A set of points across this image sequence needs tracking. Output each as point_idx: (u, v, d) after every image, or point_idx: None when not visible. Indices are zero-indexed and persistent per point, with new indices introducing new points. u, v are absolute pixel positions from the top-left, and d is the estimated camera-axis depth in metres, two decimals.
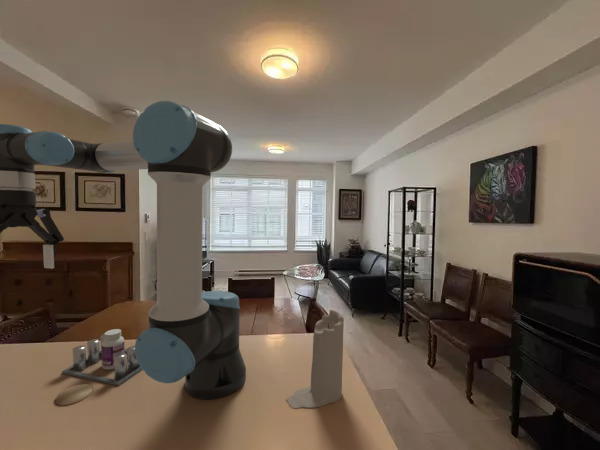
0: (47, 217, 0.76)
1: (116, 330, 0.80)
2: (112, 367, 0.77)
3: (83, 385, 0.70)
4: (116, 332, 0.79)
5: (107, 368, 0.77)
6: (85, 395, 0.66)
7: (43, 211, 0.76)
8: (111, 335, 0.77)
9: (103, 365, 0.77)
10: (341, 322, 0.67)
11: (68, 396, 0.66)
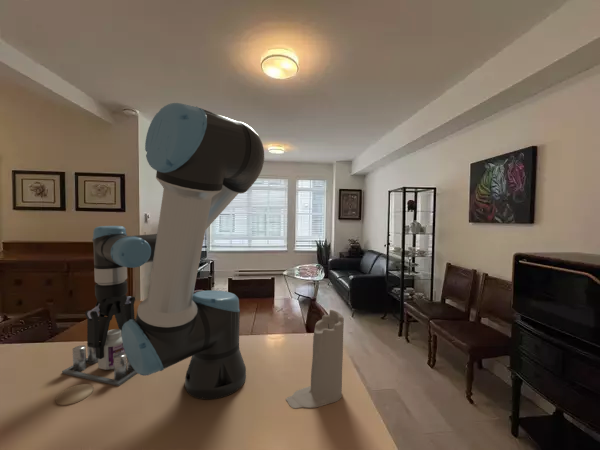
0: (131, 304, 0.83)
1: (116, 330, 0.80)
2: (112, 367, 0.77)
3: (83, 385, 0.70)
4: (116, 332, 0.79)
5: None
6: (85, 395, 0.66)
7: (130, 298, 0.84)
8: (111, 335, 0.77)
9: None
10: (341, 322, 0.67)
11: (68, 396, 0.66)
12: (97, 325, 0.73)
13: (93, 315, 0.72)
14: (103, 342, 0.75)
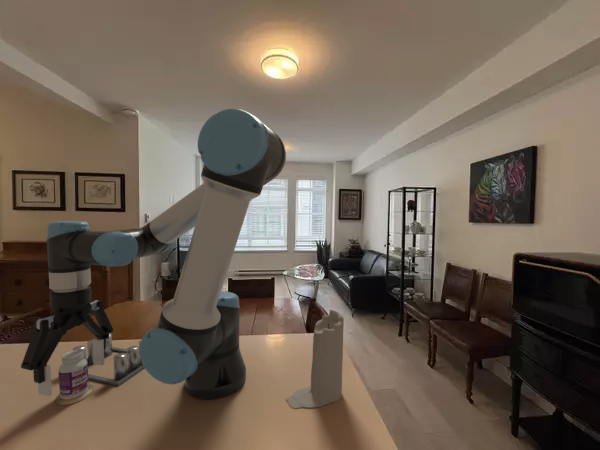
0: (100, 310, 0.71)
1: (77, 351, 0.67)
2: (72, 396, 0.65)
3: None
4: (76, 354, 0.66)
5: (65, 398, 0.64)
6: (85, 395, 0.66)
7: (97, 304, 0.71)
8: (70, 358, 0.65)
9: (61, 394, 0.65)
10: (341, 322, 0.67)
11: None
12: (43, 339, 0.59)
13: (43, 324, 0.59)
14: (44, 362, 0.59)
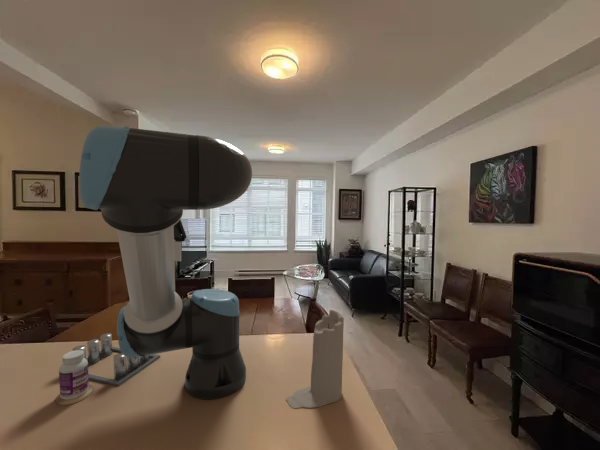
0: None
1: (78, 352, 0.67)
2: (72, 397, 0.65)
3: None
4: (77, 354, 0.66)
5: (66, 398, 0.64)
6: (85, 395, 0.66)
7: None
8: (71, 358, 0.65)
9: (61, 394, 0.65)
10: (341, 322, 0.67)
11: None
12: None
13: None
14: None
